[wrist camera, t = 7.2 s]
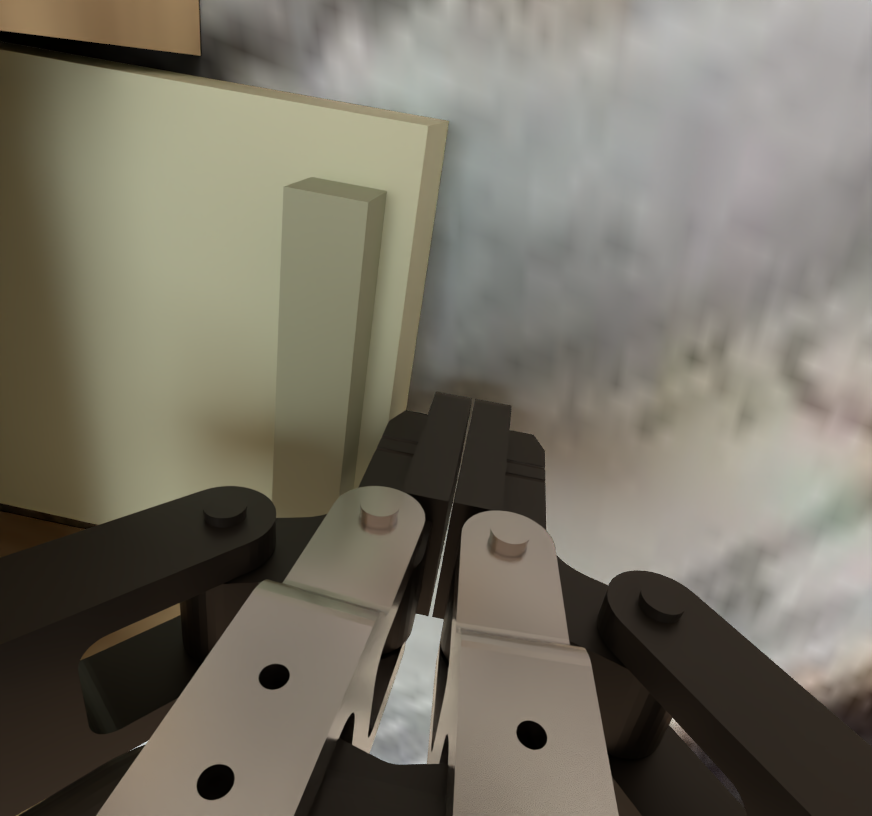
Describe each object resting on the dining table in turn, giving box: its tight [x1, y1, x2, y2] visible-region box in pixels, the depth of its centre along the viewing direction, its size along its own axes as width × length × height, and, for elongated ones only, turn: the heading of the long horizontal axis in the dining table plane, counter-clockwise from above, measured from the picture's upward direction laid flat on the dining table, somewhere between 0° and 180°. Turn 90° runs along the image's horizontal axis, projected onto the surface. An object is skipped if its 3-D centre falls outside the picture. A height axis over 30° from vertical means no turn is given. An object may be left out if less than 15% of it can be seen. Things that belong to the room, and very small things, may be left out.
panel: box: [0, 41, 449, 525], centre depth 12 cm, size 11×9×4 cm
